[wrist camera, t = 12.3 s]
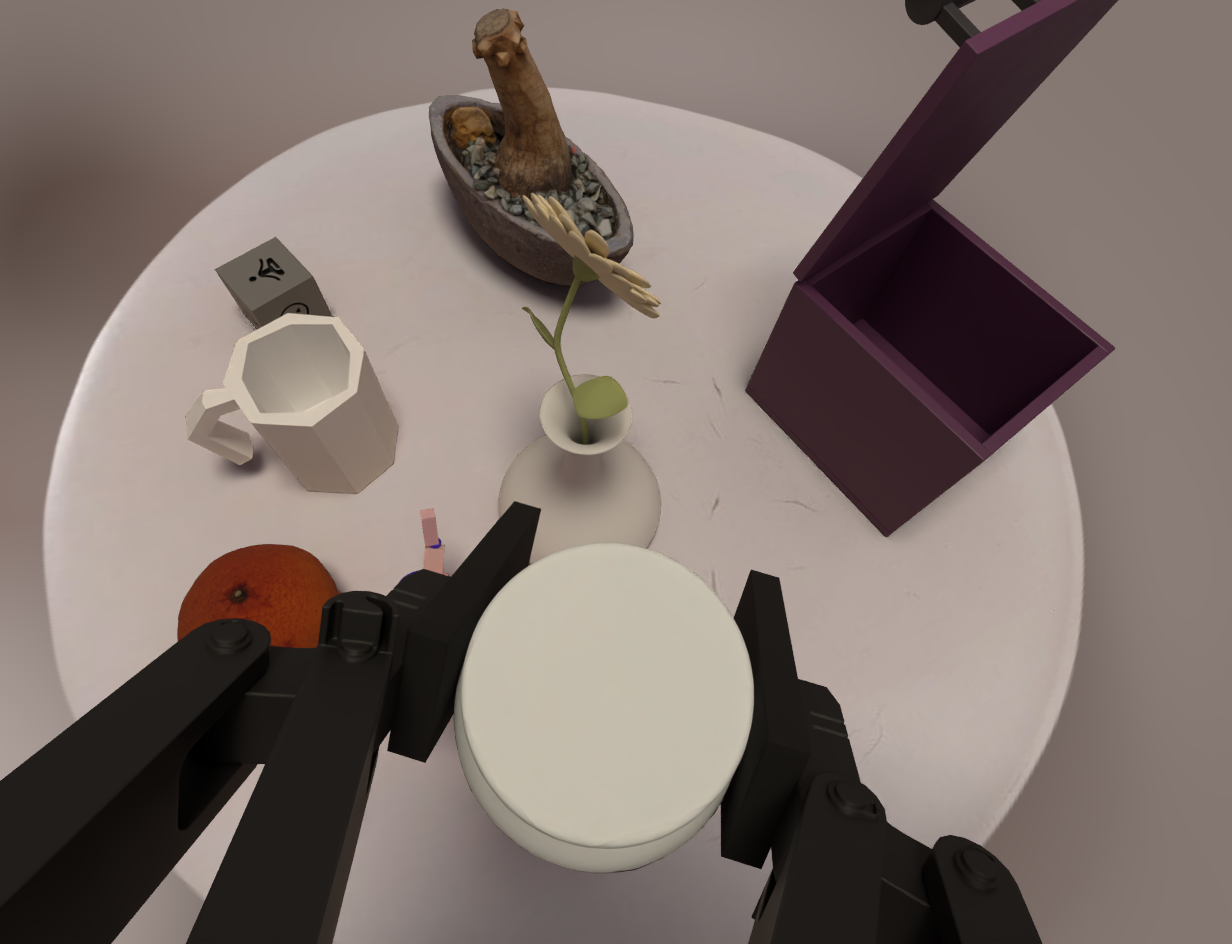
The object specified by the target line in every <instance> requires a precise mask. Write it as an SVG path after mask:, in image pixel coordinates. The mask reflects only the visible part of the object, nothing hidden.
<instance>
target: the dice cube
mask: <svg viewBox="0 0 1232 944" xmlns="http://www.w3.org/2000/svg"><path fill="white" fill-rule="evenodd" d="M215 271H216V272H217V274H218V275H219V277H220V278H221V280H222V281H223V283H224V284H225V286H226V287H227V289H228V290H229V292H230V293H231V295H232V296H233V298H234V299H235V301H236V302H237V304H238V305H239V307H240V309H241V310H242V312H243V313H244V314H245V315H246V316H247V318H248V319H249V320H250V321H251V322H252V323H253V324H254V326H255V327H256V328H257V329H259V328H261V327H263V326H265V325H267V324H269V323H271V322H272V321H274V320H276V319H278V318H280V317H282V316H283V315H285V314H287V313H292V314H304V315H316V316H328V317H332V315H331V313H330V311H329V309H328V306H327V304H326V302H325V300H324V298H323V296H322V294H321V292H320V290H319V288H318V286H317V283H316V281H315V279H314V277H313V276H312V275H311V274H310V273H309V271H308V270H307V269H306V268H305V267H304V266H303V265H302V264H301V263H300V262H299V261H298V260H297V259H296V258H295V257H294V256H293V255H292V254H291V252H290V251H289V250H288V249H287V248H286V247H285V246H284V245H283V244H282V243H281V242H280V241H279V240H278V239H277V238H276V237H275V238H273V239H271V240H269V241H267V242H265V243H263V244H261V245H260V246H258V247H256V248H254V249H252V250H250V251H248V252H246V253H245V254H243V255H241V256H239V257H237V258H235V259H233V260H231V261H230V262H228V263H226V264H224V265H222V266H220V267H218V268H216V269H215Z"/></svg>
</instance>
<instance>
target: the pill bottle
mask: <svg viewBox="0 0 1232 944" xmlns="http://www.w3.org/2000/svg"><path fill="white" fill-rule="evenodd" d="M753 708H754V683H753V674H752V668H751V663H750V659H749V655H748V651H747V648H746V645H745V642H744V639H743V637H742V635H741V632H740V630H739V628H738V626H737V624H736V622H735V620H734V619H733V617H732V615H731V613H730V612H729V610H728V609H727V607H726V606H725V604H724V603H723V601H722V600H721V599H720V597H719V596H718V595H717V594H716V593H715V591H714V590H713V589H712V588H711V587H710V586H709V585H708V584H707V583H706V582H705V581H704V580H703V579H701V578H700V577H699V576H698V575H697V574H695V573H694V572H692V571H691V570H689V569H688V568H687V567H685V566H684V565H682V564H680V563H679V562H677V561H676V560H674V559H672V558H670V557H667V556H665V555H663V554H661V553H658V552H655V551H652V550H649V549H646V548H643V547H639V546H634V545H629V544H623V543H606V542H602V543H591V544H584V545H578V546H574V547H570V548H566V549H563V550H560V551H557V552H555V553H552V554H550V555H548V556H546V557H544V558H542V559H540V560H538V561H536V562H534V563H533V564H531V565H529V566H528V567H526V568H525V569H523V570H522V571H521V572H519V573H518V574H517V575H516V576H515V577H513V578H512V579H511V580H510V581H509V582H508V583H507V584H506V585H505V586H504V587H503V588H502V589H501V590H500V591H499V592H498V593H497V595H496V596H495V597H494V598H493V600H492V601H491V602H490V604H489V605H488V607H487V608H486V609H485V611H484V613H483V614H482V616H481V618H480V620H479V622H478V624H477V626H476V628H475V630H474V632H473V635H472V638H471V640H470V643H469V646H468V650H467V653H466V657H465V661H464V664H463V667H462V670H461V673H460V676H459V680H458V684H457V688H456V694H455V703H454V731H455V739H456V744H457V750H458V754H459V758H460V762H461V765H462V768H463V771H464V774H465V777H466V779H467V782H468V784H469V787H470V789H471V791H472V792H473V794H474V796H475V797H476V799H477V801H478V802H479V804H480V805H481V807H482V808H483V809H484V810H485V812H486V813H487V814H488V816H489V817H490V818H491V819H492V821H493V822H494V823H495V824H496V825H497V826H498V827H499V828H500V829H501V830H502V831H503V832H504V833H505V834H506V835H507V836H508V837H509V838H511V839H512V840H513V841H514V842H516V843H517V844H518V845H519V846H521V847H522V848H524V849H525V850H527V851H528V852H530V853H532V854H533V855H535V856H537V857H539V858H541V859H543V860H545V861H548V862H550V863H552V864H555V865H558V866H562V867H565V868H569V869H573V870H577V871H584V872H591V873H613V872H624V871H631V870H636V869H639V868H641V867H644V866H646V865H648V864H651V863H653V862H655V861H657V860H659V859H661V858H663V857H665V856H666V855H668V854H670V853H671V852H673V851H674V850H676V849H677V848H679V847H680V846H682V845H683V844H684V843H686V842H687V841H688V840H689V839H691V838H692V837H693V836H694V835H695V834H696V833H697V832H698V831H700V830H701V829H702V828H703V827H704V825H705V824H706V823H707V821H708V820H709V819H710V818H711V817H712V816H713V815H714V814H715V812H716V810H717V809H718V807H719V805H720V804H721V802H722V800H723V797H724V795H725V793H726V791H727V789H728V787H729V784H730V782H731V779H732V777H733V775H734V773H735V771H736V769H737V767H738V765H739V763H740V761H741V758H742V756H743V753H744V751H745V748H746V745H747V741H748V737H749V733H750V729H751V724H752V718H753Z"/></svg>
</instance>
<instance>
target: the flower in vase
mask: <svg viewBox="0 0 1232 944" xmlns="http://www.w3.org/2000/svg"><path fill="white" fill-rule="evenodd" d="M522 198H523V200H524V202H525V204H526V206H527V208H528V210H529V212H530V213H531V215H532V216H533V217H534V218H535V220H536V221H537V222H538V223H539V224H540V225H541V227H542V228H543V229H544V230H545V231H546V232H547V233H548V234H549V235H550V236H551V237H552V238H553V239H554V240H555V241H556V242H557V243H558V244H559V245H560V246H561V247H562V248H563V249H564V250H565V251H566V252H567V253H568V254H570V255H571V256H572V257H573V266H572V267H573V272H574V275H575V278H574V280H573V282H572V285H571V287H570V290H569V292H568V295H567V298H566V300H565V303H564V306H563V308H562V311H561V314H560V317H559V320H558V323H557V326H556V330H555V335H554V339H553V337H552V335H551V334H550V332H549V331H548V329H547V328H546V327H545V326H544V324H543V323H542V322H541V321H540V320H539V319H538V318H537V317H535V316H534V314H533V313H532V312H531V310H530V309H529V308H527V307H523V308H522V309H523V310H525V311H526V312H528V313H529V314H530V316H531V319H532V321H533V323H534V325H535V327H536V329H537V330H538V332H539V334H540V335H541V336H542V338H543V339H544V340H545V342H546V343H547V344H548V345H549V346H551V347H552V348H553V349H554V350H555V354H556V357H557V360H558V363H559V366H560V369H561V371H562V374H563V376H564V379H563V380H561V381H559V382H558V383H556V384H555V385H554V386H553V387H551V388H550V389H549V391H548V392H547V393H546V395H545V396H544V398H543V401H542V403H541V407H540V420H541V424H542V427H543V429H544V431H545V433H546V434H547V435H544V436H543V437H541V438H539V439H537V440H535V441H534V442H533V443H531V444H530V445H528V446H527V447H526V448H525V449H524V450H523V451H522V452H521V453H520V454H519V455H518V456H517V457H516V458H515V460H514V461H513V462H512V464H511V465H510V467H509V468H508V470H507V472H506V474H505V476H504V479H503V481H502V485H501V488H500V494H499V513H500V518H501V516H502V515H503V514H504V513H505V512H506V510H507V509H508V508H509V507H510V506H511V504H512V503H513V502H514V501H516V502H520V503H523V504H527V505H530V506H534V507H537V508H541V513H540V517H539V522H538V526H537V530H536V535H535V539H534V544H533V548H532V552H531V557H530V561H529V563H531V564H533V563H534V562H536V561H538V560H540V559H542V558H544V557H546V556H548V555H550V554H552V553H555V552H557V551H560V550H563V549H566V548H570V547H574V546H578V545H584V544H591V543H602V542H606V543H623V544H629V545H634V546H639V547H643V548H647V546H648V545H649V543H650V542H651V540H652V538H653V536H654V534H655V532H656V530H657V526H658V523H659V519H660V513H661V497H660V491H659V487H658V483H657V480H656V478H655V476H654V473H653V472H652V470H651V468H650V466H649V465H648V463H647V462H646V461H645V459H644V458H643V457H642V456H641V454H640V453H639V452H638V451H637V450H636V449H635V448H633V447H632V446H631V445H630V444H628V443H627V442H625V441H624V440H623V439H624V438H625V437H626V435H627V434H628V432H629V430H630V427H631V424H632V415H633V414H632V408H631V404H630V401H629V399H628V397H627V396H626V394H625V392H624V390H623V389H622V387H621V386H620V384H619V383H618V382H617V381H616V380H615V379H613V378H612V377H609V376H602V377H599V376H595V375H575V376H571V377H570V375H569V372H568V370H567V367H566V365H565V362H564V359H563V355H562V352H561V346H560V342H561V334H562V330H563V327H564V323H565V321H566V318H567V315H568V312H569V309H570V307H571V304H572V301H573V299H574V296H575V294H576V291H577V289H578V287H579V284H580V282H581V281H584V282H589V281H593V280H596V279H598V280H599V281H600V282H601V283H602V284H604V285H605V286H606V287H607V288H608V289H610V290H611V291H612V292H614V293H615V294H616V295H618V296H619V297H620V298H622V299H623V300H624V301H625V302H627V303H628V304H629V305H631V306H632V307H633V308H635V309H636V310H638V311H639V312H641V313H643V314H644V315H646V316H648V317H651V318H657V317H659V314H658V313H657V312H656V311H655V310H654V309H653V307H658V306H659V304H661V302H660V301H659V299H657V298H656V297H655V296H653V295H652V294H651V293H649V292H648V291H646V290H644V289H643V288H650V287H651V285H650V284H649V282H648V281H647V280H646V279H645V278H643V277H642V276H641V275H639V274H637V273H635V272H634V271H632V270H630V269H627V268H625V267H623V266H622V265H620V264H618V263H617V262H615V261H612V260H609V259H607V256H608V254H609V248H608V244H607V242H606V241H605V240H604V239H603V238H602V237H601V236H600V235H599V234H598V233H596V232H595V231H593V230H588V231H587V232H586V233H585V239H584V237H583V236H582V234H581V232H580V231H579V230H578V228H577V227H576V225H575V224H574V222H573V221H572V219H571V218H570V216H569V215H568V213H567V212H566V211H565V209H564V208H563V207H562V205H561V204H560V203H559V202H558V201H557V200H555V199H554V198H553V197H551V196H550V197H549V198H548V200H549V203H550V204H549V203H548V202H547V201H546V200H545V199H544V198H543V197H542V196H541V195H538V197H537V196H536V195H535V194H534V193H531V198H532V200H533V202H534V203H535V205H534V204H533V203H532V202H531V201H530V200H529V199H528V198H527V197H526V196H524V195H523V196H522ZM641 287H643V288H641ZM652 306H653V307H652Z"/></svg>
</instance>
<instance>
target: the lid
mask: <svg viewBox="0 0 1232 944" xmlns="http://www.w3.org/2000/svg"><path fill="white" fill-rule="evenodd" d="M973 1H975V0H905V7H906V11H907V14H908V16H909V18H910V19H911V20H912V21H913V22H914V23H916V24H920V25H926V24H929V23H931V22H933V21H936V22H937V23H938V24H939V25H940V27H941V28H942V29H943V30H944V31H945V32H946V33H947V34H948V35H949V36H950V37H951V38H952V40H954V42H955V43H956V44H957V45H958V46H959V47H960V49H959V50H958V51H957V53H956V54H955V55H954V57H953V58H952V59H951V61H950V62H949V63H948V65H947V66H946V67H945V69H944V70H943V71H942V73H941V74H940V76H939V77H938V78H937V79H936V81H935V82H934V84H933V85H932V86H931V87H930V89H929V90H928V92H927V93H926V94H925V96H924V97H923V98H922V100H921V101H920V102H919V104H918V105H917V106H916V108H915V109H914V111H913V112H912V113H911V115H910V116H909V117H908V119H907V120H906V121H905V123H904V124H903V125H902V127H901V128H900V129H899V131H898V132H897V133H896V135H895V136H894V137H893V139H892V140H891V141H890V143H889V144H888V145H887V147H886V148H885V149H884V151H883V152H882V154H881V155H880V156H879V157H878V159H877V160H876V161H875V163H874V164H873V166H872V167H871V168H870V170H869V171H868V172H867V174H866V175H865V176H864V178H863V179H862V180H861V182H860V183H859V184H858V186H857V187H856V188H855V190H854V191H853V192H852V194H851V195H850V196H849V198H848V199H847V201H846V202H845V203H844V205H843V206H842V207H841V209H840V210H839V211H838V213H837V214H836V215H835V217H834V218H833V219H832V221H831V222H830V223H829V225H828V226H827V227H826V229H825V230H824V231H823V233H822V234H821V235H820V237H819V238H818V240H817V241H816V242H815V244H814V245H813V246H812V248H811V249H810V250H809V252H808V253H807V254H806V256H805V257H804V258H803V260H802V261H801V262H800V264H799V265H798V266H797V268H796V269H795V270H794V272H793V274H794V275H795V276H796V277H797V279H798V280H799V281H800V282H802V281H803V280H805V279H806V278H808V277H810V276H811V275H813V274H814V273H816V272H817V271H819V270H821V269H822V268H824V267H825V266H827V265H829V264H830V263H832V262H833V261H835V260H837V259H838V258H840V257H841V256H843V255H844V254H846V253H848V252H849V251H851V250H852V249H854V248H856V247H857V246H859V245H860V244H862V243H864V242H865V241H867V240H868V239H870V238H871V237H873V236H875V235H876V234H878V233H879V232H881V231H883V230H884V229H886V228H887V227H889V226H891V225H892V224H894V223H895V222H897V221H898V220H900V219H902V218H903V217H905V216H906V215H908V214H910V213H911V212H913V211H914V210H916V209H917V208H919V207H921V206H922V205H924V204H925V203H927V202H929V201H930V200H932V199H933V198H935V197H936V196H938V195H939V194H940V193H941V192H942V190H943V189H944V188H945V187H946V186H947V185H948V184H949V183H950V182H951V181H952V180H953V179H954V178H955V176H956V175H957V174H958V173H959V172H960V171H961V170H962V169H963V168H964V167H965V166H966V165H967V163H968V162H969V161H970V160H971V159H972V158H973V157H974V156H975V155H976V153H978V152H979V150H980V149H981V148H982V147H983V146H984V145H985V144H986V143H987V142H988V141H989V140H990V139H991V137H992V136H993V135H994V134H995V133H996V132H997V131H998V130H999V129H1000V128H1001V127H1002V126H1003V124H1004V123H1005V122H1006V121H1007V120H1008V119H1009V118H1010V117H1011V116H1012V115H1013V114H1014V113H1015V111H1016V110H1017V109H1018V108H1019V107H1020V106H1021V105H1022V104H1023V103H1024V102H1025V101H1026V100H1027V98H1028V97H1029V96H1030V95H1031V94H1032V93H1033V92H1034V91H1035V90H1036V89H1037V88H1038V86H1039V85H1040V84H1041V83H1042V82H1043V81H1044V80H1045V79H1046V78H1047V77H1048V76H1049V75H1050V73H1051V72H1052V71H1053V70H1054V69H1055V68H1056V67H1057V66H1058V65H1059V64H1060V63H1061V62H1062V61H1063V59H1064V58H1065V57H1066V56H1067V55H1068V54H1069V53H1070V52H1071V51H1072V50H1073V49H1074V48H1075V46H1076V45H1077V44H1078V43H1079V42H1080V41H1081V40H1082V39H1083V37H1085V36H1086V34H1087V33H1088V32H1089V31H1090V30H1091V29H1092V28H1093V27H1094V26H1095V25H1096V24H1097V22H1098V21H1099V20H1100V19H1101V18H1102V17H1103V16H1104V15H1105V14H1106V13H1107V12H1108V11H1109V9H1111V7H1112V6H1113V5H1114V4H1115V3H1116V2H1117V1H1118V0H1012V1H1013V2H1014V3H1015V4H1016V5H1017V6H1018V7H1019V8H1020V9H1021V12H1019V13H1017V14H1015V15H1013V16H1011V17H1009V18H1008V19H1006V20H1004V21H1002V22H1000V23H998V24H996V25H994V26H992V27H990V28H989V29H987V30H985V31H983V32H980V31H979V30H978V29H977V28H976V27H975V26H974V25H973V24H972V23H971V21H969V19H968V18H967V17H966V16H965V15H964V14H963V13H962V12H961V11H960V10H959V8H961V7H963V6H965V5H967V4H969V3H971V2H973Z"/></svg>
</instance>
